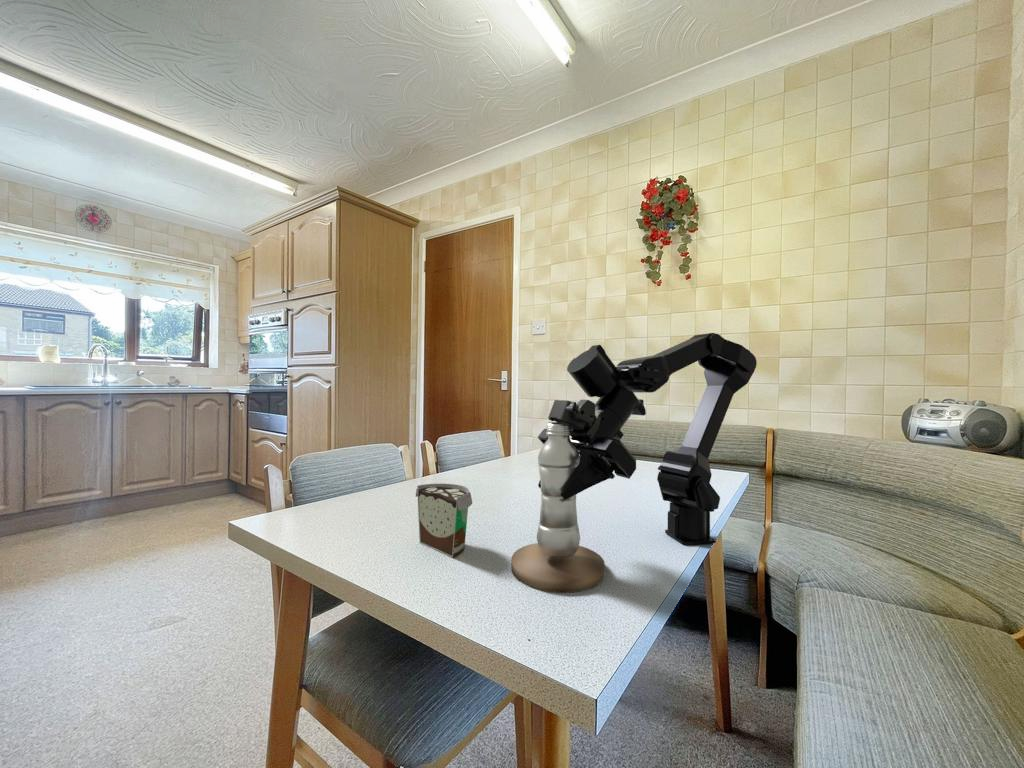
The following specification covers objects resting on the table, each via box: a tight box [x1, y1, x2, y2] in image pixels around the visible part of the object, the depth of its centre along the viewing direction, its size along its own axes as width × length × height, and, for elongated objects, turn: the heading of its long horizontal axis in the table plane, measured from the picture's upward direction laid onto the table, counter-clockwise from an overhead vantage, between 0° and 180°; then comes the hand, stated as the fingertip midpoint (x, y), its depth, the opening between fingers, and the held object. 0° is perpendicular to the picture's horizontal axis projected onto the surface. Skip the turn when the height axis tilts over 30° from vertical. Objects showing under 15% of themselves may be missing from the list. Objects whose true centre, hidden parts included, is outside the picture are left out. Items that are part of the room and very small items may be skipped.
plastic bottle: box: [536, 421, 581, 558], centre depth 61 cm, size 6×7×20 cm
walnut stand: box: [510, 542, 606, 593], centre depth 61 cm, size 14×14×2 cm
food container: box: [415, 483, 473, 559], centre depth 70 cm, size 12×6×10 cm, turn 47°
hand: (551, 492), depth 60 cm, fingers closed on plastic bottle, 6 cm apart
